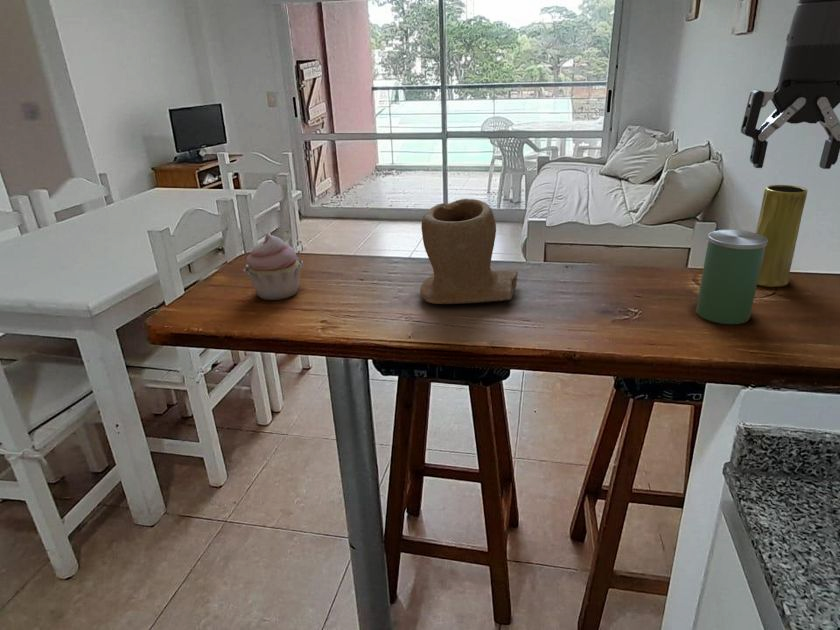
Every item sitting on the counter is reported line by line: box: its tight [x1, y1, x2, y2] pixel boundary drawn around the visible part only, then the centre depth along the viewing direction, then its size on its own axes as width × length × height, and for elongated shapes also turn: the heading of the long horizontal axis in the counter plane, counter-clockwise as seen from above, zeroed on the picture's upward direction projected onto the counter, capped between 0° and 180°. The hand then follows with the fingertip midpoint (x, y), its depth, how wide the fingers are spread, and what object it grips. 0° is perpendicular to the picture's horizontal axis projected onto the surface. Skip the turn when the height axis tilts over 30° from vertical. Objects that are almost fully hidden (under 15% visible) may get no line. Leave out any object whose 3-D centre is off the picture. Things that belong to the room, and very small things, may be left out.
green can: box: [695, 229, 768, 325], centre depth 76 cm, size 7×7×11 cm
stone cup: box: [419, 198, 519, 305], centre depth 84 cm, size 15×12×15 cm
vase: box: [755, 184, 808, 288], centre depth 86 cm, size 6×6×14 cm
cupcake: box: [242, 233, 304, 301], centre depth 90 cm, size 9×9×10 cm
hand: (790, 167), depth 81 cm, fingers open, 8 cm apart
